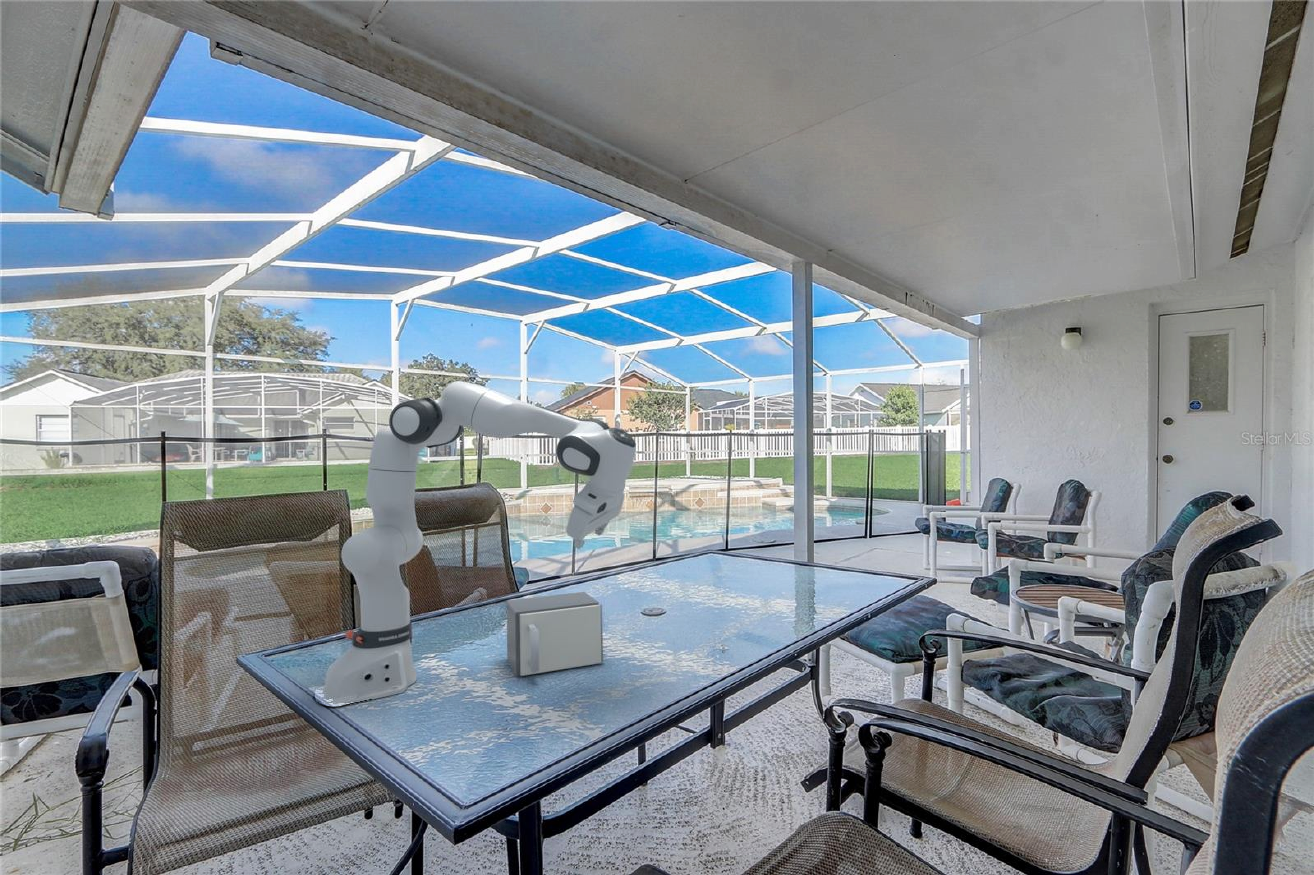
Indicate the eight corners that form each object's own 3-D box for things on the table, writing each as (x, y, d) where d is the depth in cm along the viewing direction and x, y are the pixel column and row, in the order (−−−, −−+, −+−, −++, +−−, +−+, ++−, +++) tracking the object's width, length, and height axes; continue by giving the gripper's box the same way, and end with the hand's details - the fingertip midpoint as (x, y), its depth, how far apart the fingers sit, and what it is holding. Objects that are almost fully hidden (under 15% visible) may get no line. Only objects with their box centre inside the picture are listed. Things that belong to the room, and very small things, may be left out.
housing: (516, 676, 148) (515, 612, 149) (507, 659, 161) (506, 600, 162) (599, 663, 157) (598, 602, 157) (585, 647, 170) (584, 591, 170)
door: (525, 684, 142) (524, 621, 142) (520, 674, 148) (519, 614, 149) (610, 669, 150) (609, 610, 151) (602, 661, 157) (601, 604, 157)
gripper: (614, 476, 152) (600, 520, 157) (569, 499, 134) (555, 548, 139) (635, 487, 150) (619, 532, 155) (592, 512, 132) (576, 561, 137)
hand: (588, 540), depth 147 cm, fingers open, 8 cm apart
